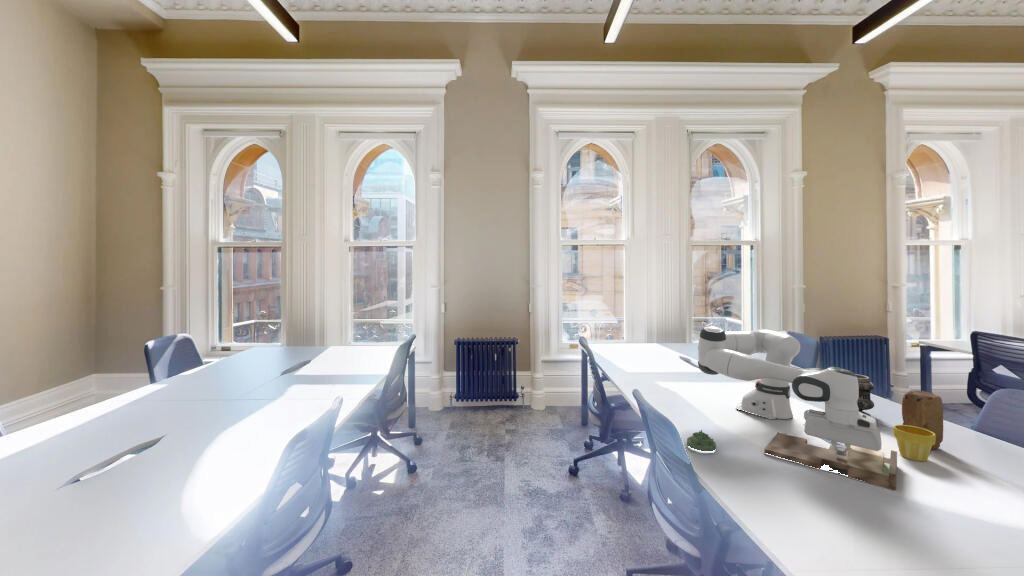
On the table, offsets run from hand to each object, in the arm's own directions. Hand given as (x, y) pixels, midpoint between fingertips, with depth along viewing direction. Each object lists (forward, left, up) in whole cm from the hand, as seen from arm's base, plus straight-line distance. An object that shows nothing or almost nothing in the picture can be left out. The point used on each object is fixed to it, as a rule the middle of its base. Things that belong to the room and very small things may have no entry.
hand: (840, 454), depth 133 cm
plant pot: (+18, +23, -3) cm, 29 cm away
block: (+20, +39, -3) cm, 44 cm away
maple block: (+6, 0, -1) cm, 6 cm away
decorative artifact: (-39, -20, -4) cm, 44 cm away
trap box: (-3, 0, -3) cm, 5 cm away
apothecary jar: (0, +63, -3) cm, 63 cm away
